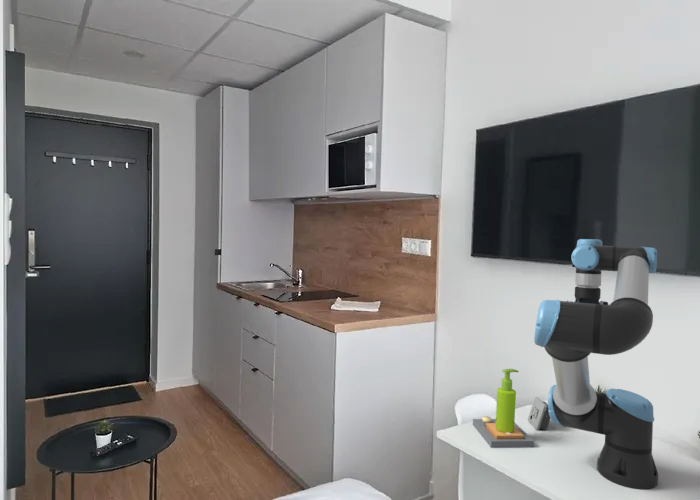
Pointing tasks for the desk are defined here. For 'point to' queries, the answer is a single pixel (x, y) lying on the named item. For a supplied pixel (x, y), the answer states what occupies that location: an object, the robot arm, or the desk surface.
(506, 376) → the soap dispenser
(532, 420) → the electrical switch
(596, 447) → the desk surface
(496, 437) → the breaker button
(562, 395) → the robot arm
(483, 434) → the grey tray
